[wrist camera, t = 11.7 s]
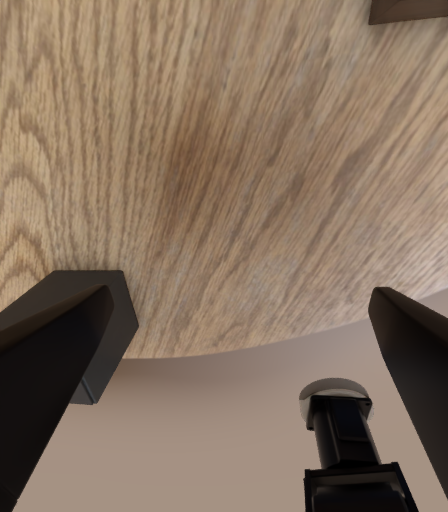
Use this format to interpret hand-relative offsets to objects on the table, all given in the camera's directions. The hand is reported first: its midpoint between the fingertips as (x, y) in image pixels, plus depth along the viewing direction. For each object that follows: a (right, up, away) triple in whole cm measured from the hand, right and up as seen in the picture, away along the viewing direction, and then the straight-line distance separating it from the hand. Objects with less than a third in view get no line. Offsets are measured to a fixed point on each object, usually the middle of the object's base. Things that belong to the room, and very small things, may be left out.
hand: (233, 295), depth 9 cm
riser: (-13, -3, +17) cm, 22 cm away
